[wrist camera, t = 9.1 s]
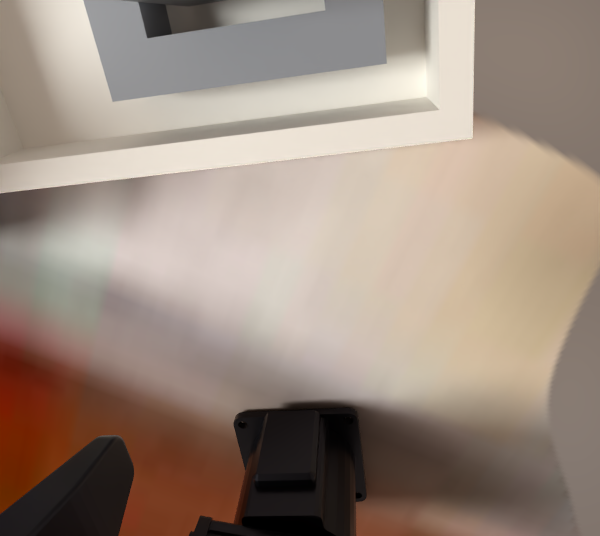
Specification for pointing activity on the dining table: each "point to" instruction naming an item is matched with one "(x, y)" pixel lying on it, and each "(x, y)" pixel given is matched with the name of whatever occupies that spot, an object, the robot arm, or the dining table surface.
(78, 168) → the box
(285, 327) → the dining table surface
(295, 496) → the robot arm
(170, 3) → the plug
